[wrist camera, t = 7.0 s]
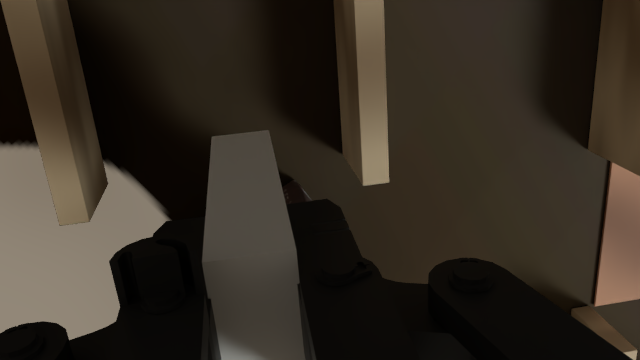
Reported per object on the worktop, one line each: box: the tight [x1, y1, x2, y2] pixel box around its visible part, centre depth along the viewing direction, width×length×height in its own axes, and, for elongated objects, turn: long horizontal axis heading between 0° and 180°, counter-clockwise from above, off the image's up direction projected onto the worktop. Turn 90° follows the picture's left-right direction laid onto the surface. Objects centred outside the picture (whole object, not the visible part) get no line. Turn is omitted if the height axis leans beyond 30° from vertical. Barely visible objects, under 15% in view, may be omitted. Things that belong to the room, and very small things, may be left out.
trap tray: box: [0, 0, 640, 360], centre depth 20 cm, size 24×22×3 cm
